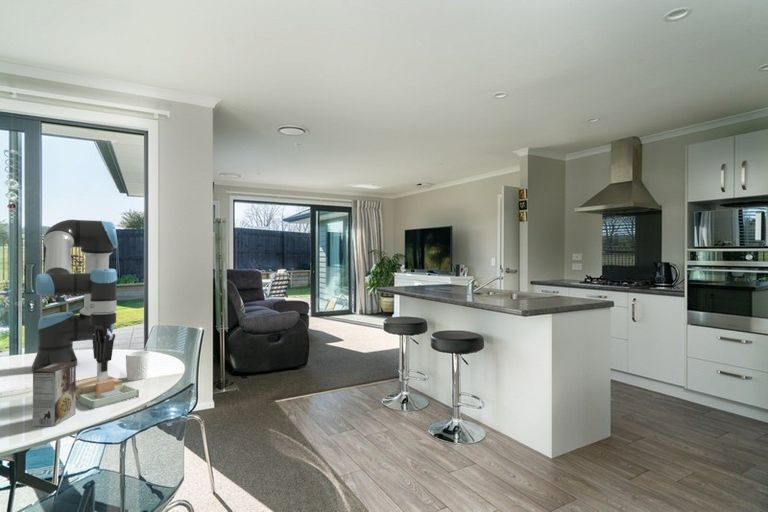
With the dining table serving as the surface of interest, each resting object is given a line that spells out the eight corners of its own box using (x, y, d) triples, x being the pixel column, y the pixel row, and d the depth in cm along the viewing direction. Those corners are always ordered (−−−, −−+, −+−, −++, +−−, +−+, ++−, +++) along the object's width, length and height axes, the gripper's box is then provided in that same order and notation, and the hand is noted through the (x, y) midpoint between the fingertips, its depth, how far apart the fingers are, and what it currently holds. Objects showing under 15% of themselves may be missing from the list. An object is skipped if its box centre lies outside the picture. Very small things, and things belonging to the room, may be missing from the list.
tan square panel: (67, 393, 142) (67, 382, 142) (105, 385, 152) (105, 374, 152) (82, 401, 135) (83, 389, 135) (121, 391, 145) (122, 380, 145)
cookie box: (54, 414, 124) (55, 362, 124) (76, 414, 125) (77, 362, 125) (30, 426, 115) (31, 370, 115) (54, 426, 116) (55, 370, 116)
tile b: (106, 396, 133) (106, 402, 133) (122, 392, 137) (122, 398, 137) (99, 393, 136) (99, 399, 136) (115, 389, 140) (115, 395, 140)
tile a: (95, 383, 138) (98, 384, 136) (111, 379, 142) (114, 380, 141) (95, 397, 138) (98, 398, 136) (111, 393, 142) (114, 394, 141)
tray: (79, 402, 134) (79, 395, 134) (124, 391, 146) (125, 384, 146) (92, 409, 129) (92, 401, 129) (138, 396, 140) (138, 389, 140)
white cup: (137, 382, 156) (137, 356, 156) (120, 380, 158) (120, 355, 158) (152, 376, 164) (153, 351, 164) (136, 374, 166) (136, 350, 166)
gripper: (82, 312, 141) (81, 379, 141) (99, 315, 134) (98, 386, 134) (106, 310, 147) (105, 374, 147) (123, 313, 140) (122, 381, 140)
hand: (102, 380), depth 140 cm, fingers closed
